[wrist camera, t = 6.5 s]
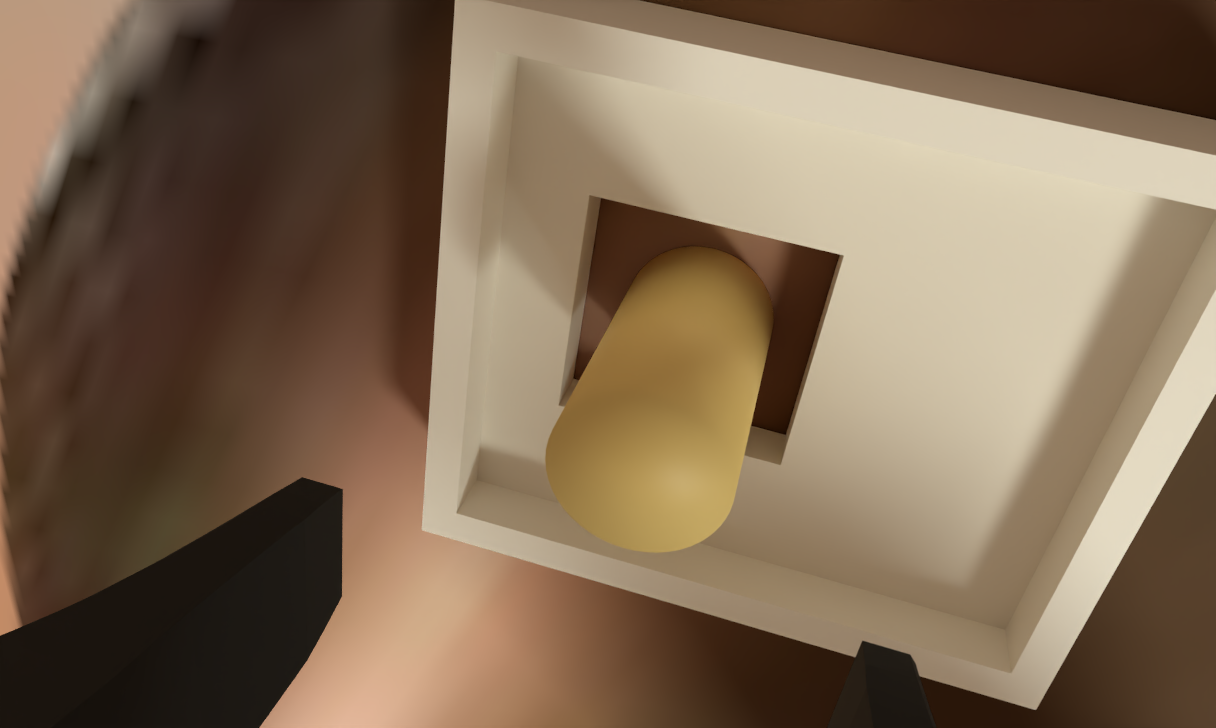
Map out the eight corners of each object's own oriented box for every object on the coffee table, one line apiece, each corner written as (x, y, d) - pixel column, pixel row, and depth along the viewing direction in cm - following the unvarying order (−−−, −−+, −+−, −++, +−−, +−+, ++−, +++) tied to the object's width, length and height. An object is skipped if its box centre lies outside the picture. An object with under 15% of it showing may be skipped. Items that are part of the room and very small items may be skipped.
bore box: (1280, 133, 17) (1336, 181, 15) (1022, 627, 23) (1035, 709, 21) (505, -28, 19) (455, -7, 17) (462, 468, 25) (421, 530, 23)
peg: (790, 268, 20) (757, 422, 15) (753, 396, 22) (712, 574, 17) (640, 230, 21) (559, 368, 15) (615, 358, 22) (534, 522, 17)
